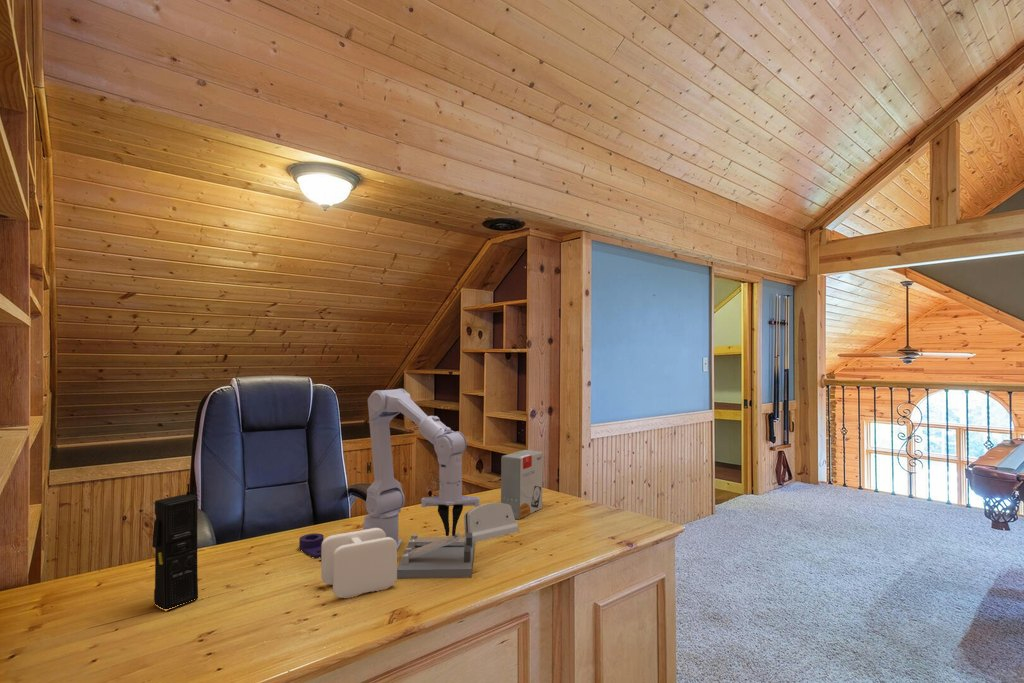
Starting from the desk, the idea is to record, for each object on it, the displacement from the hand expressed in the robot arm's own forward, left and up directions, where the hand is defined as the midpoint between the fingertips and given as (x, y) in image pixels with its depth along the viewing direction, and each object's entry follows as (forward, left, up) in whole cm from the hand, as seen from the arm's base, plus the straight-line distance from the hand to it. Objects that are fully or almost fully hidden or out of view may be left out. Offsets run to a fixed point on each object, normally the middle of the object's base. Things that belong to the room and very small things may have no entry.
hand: (450, 534), depth 133 cm
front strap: (-5, 0, -4) cm, 6 cm away
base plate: (-4, +5, -8) cm, 10 cm away
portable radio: (-59, -17, -8) cm, 61 cm away
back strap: (-4, +10, -6) cm, 12 cm away
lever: (-38, +13, -9) cm, 41 cm away
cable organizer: (-21, -10, -8) cm, 24 cm away
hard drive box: (+20, +45, -8) cm, 50 cm away
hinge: (+10, +25, -9) cm, 28 cm away
